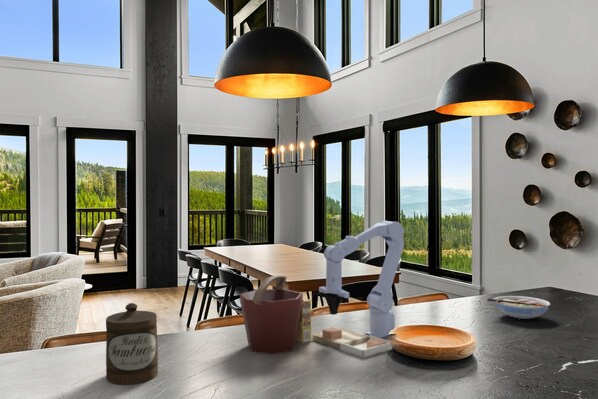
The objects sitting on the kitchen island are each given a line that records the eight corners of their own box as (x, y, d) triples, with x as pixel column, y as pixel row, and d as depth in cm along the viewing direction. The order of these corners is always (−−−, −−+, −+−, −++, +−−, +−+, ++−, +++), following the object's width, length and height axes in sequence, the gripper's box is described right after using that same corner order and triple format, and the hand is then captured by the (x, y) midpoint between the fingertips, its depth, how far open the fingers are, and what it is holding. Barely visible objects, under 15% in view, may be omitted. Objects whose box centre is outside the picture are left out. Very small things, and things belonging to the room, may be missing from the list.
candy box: (311, 341, 189) (311, 300, 188) (302, 343, 186) (302, 301, 186) (298, 335, 196) (298, 295, 196) (289, 337, 194) (289, 297, 194)
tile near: (387, 341, 178) (387, 348, 178) (376, 338, 182) (376, 345, 182) (377, 344, 175) (377, 351, 175) (366, 341, 179) (366, 348, 179)
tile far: (332, 333, 191) (332, 327, 191) (341, 336, 187) (341, 330, 187) (322, 336, 188) (322, 329, 188) (331, 339, 184) (331, 332, 184)
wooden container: (107, 388, 144) (106, 311, 144) (105, 371, 158) (104, 300, 157) (161, 380, 150) (160, 306, 150) (154, 364, 164) (153, 296, 163)
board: (342, 332, 200) (342, 327, 200) (369, 341, 188) (369, 336, 188) (312, 339, 190) (312, 334, 190) (339, 349, 179) (339, 344, 179)
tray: (370, 341, 188) (370, 335, 188) (393, 349, 179) (393, 342, 179) (340, 349, 178) (340, 342, 178) (362, 357, 170) (362, 350, 170)
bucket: (270, 333, 199) (270, 269, 198) (318, 343, 186) (317, 275, 186) (227, 349, 179) (226, 278, 178) (277, 361, 166) (276, 285, 166)
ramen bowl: (556, 316, 225) (556, 297, 225) (549, 328, 206) (549, 307, 206) (496, 309, 239) (496, 291, 238) (485, 319, 219) (485, 300, 219)
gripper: (313, 276, 194) (312, 312, 194) (339, 281, 182) (339, 319, 182) (326, 274, 198) (326, 309, 198) (353, 279, 187) (353, 316, 187)
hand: (333, 314), depth 191 cm, fingers closed
